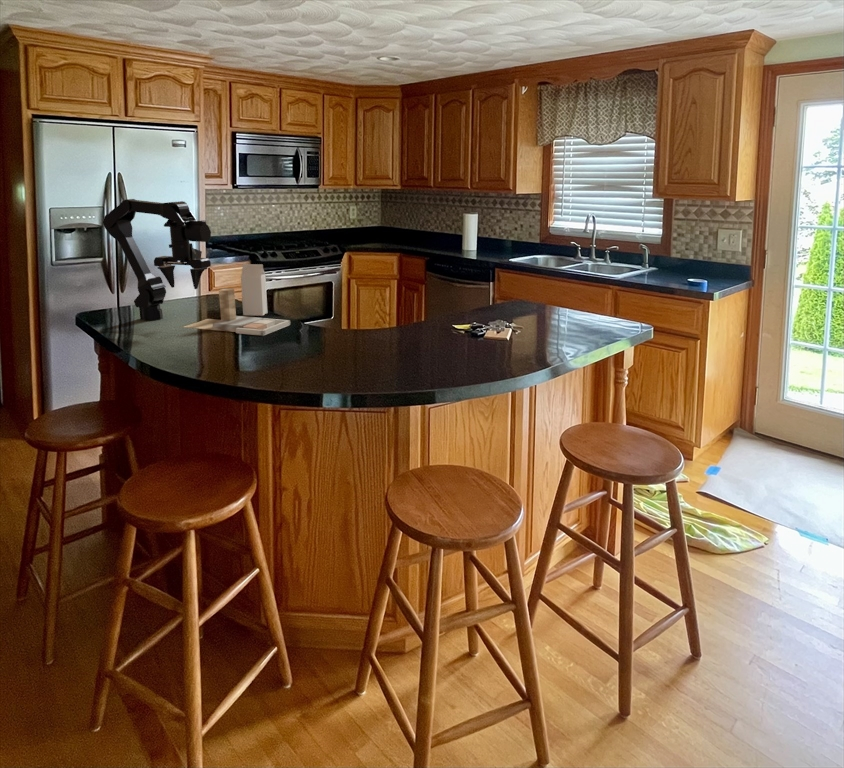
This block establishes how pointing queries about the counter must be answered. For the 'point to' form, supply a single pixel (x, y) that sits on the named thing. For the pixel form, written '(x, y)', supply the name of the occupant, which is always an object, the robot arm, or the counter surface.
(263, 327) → the tile
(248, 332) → the tray
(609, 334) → the counter surface
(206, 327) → the board
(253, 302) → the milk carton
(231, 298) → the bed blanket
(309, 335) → the counter surface
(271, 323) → the tile
